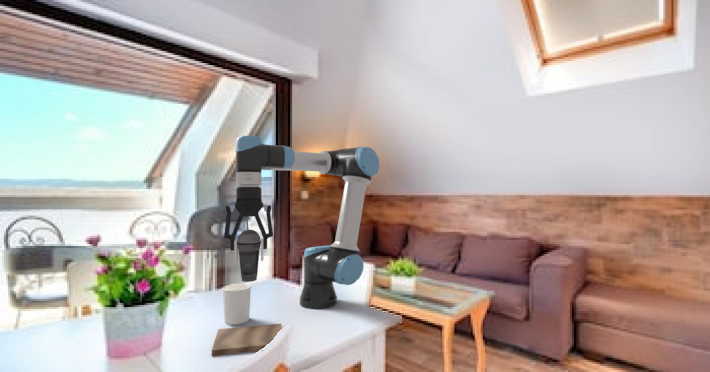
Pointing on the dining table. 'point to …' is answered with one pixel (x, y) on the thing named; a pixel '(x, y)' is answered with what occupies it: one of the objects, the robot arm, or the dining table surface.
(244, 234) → the beverage cup
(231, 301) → the candle holder
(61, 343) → the dining table surface
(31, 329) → the dining table surface
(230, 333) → the walnut board
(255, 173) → the robot arm
